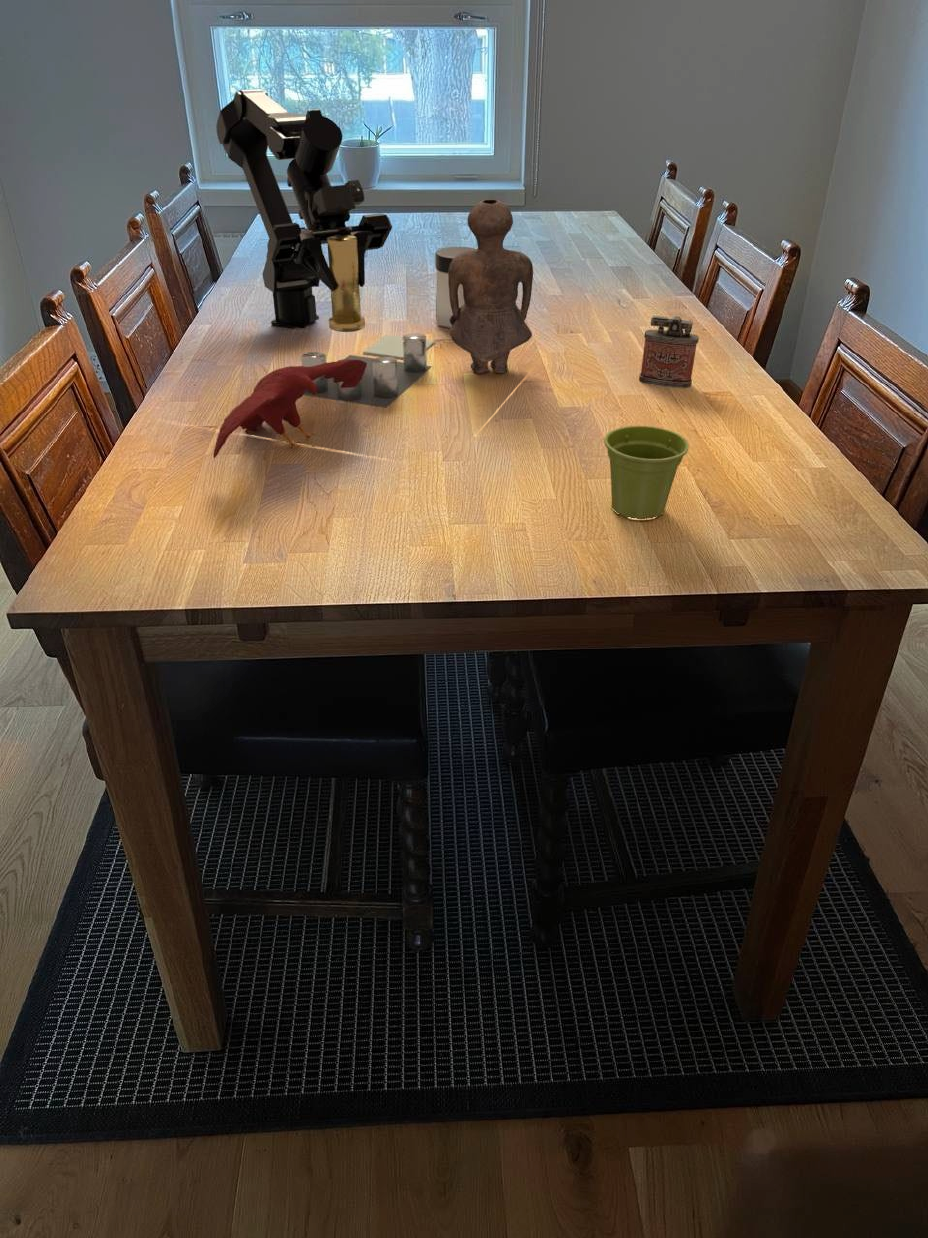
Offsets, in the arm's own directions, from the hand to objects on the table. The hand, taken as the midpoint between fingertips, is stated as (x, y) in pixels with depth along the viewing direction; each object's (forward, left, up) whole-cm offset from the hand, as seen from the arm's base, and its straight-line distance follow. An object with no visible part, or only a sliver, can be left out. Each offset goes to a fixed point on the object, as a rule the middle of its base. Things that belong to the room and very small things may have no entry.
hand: (348, 287), depth 139 cm
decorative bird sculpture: (+4, -29, -12) cm, 32 cm away
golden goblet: (-1, +1, -6) cm, 6 cm away
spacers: (+5, -5, -12) cm, 14 cm away
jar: (+8, +27, -12) cm, 31 cm away
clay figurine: (+21, +6, -12) cm, 25 cm away
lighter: (+48, +11, -12) cm, 51 cm away
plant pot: (+52, -31, -12) cm, 61 cm away
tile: (+4, +10, -12) cm, 16 cm away
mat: (+5, -5, -12) cm, 14 cm away
